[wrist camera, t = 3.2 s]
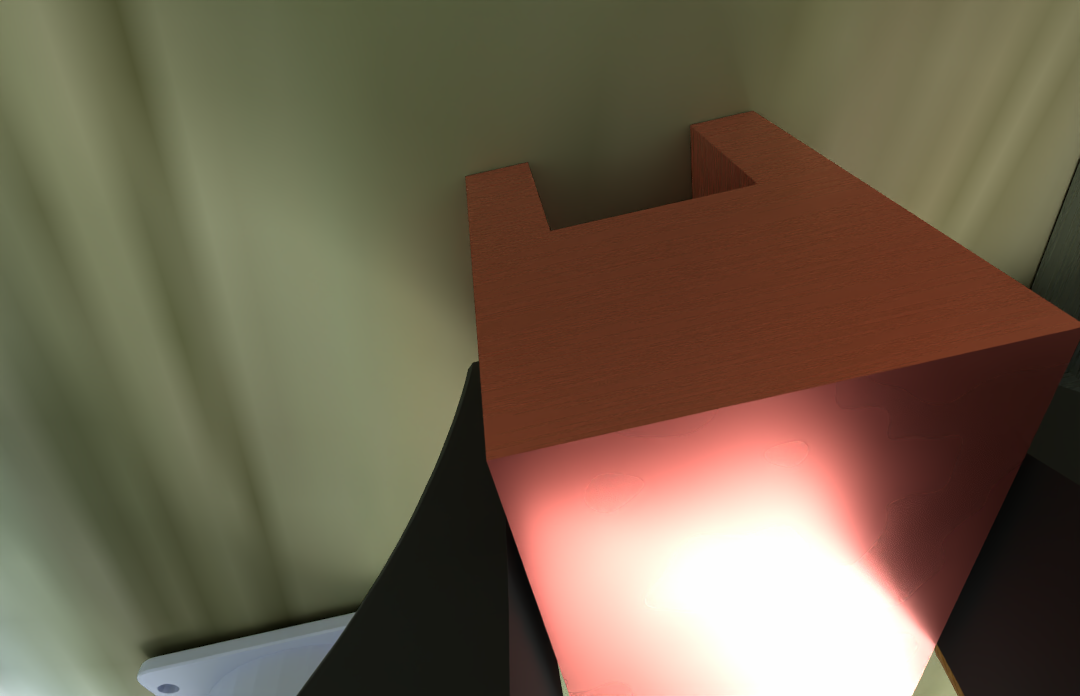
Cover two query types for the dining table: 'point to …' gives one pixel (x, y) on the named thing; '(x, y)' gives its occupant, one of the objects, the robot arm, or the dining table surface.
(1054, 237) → the lip
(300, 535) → the dining table surface
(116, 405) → the dining table surface
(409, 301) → the dining table surface
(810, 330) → the block
